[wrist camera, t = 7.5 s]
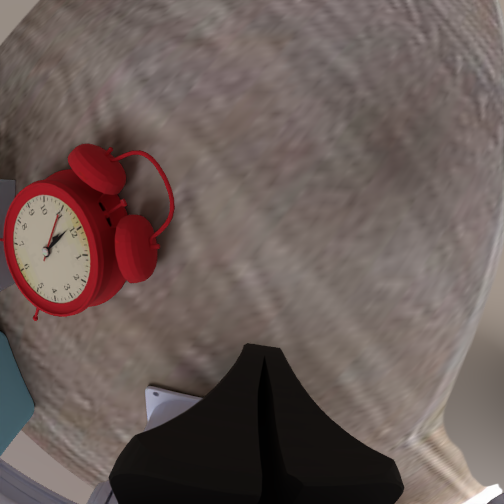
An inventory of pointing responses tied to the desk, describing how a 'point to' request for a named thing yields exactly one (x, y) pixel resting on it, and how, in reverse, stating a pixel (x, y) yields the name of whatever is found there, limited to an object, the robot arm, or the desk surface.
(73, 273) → the alarm clock
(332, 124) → the desk surface
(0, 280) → the book row
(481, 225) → the desk surface
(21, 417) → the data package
